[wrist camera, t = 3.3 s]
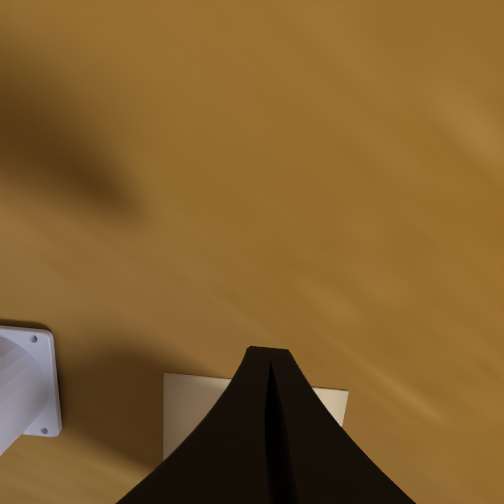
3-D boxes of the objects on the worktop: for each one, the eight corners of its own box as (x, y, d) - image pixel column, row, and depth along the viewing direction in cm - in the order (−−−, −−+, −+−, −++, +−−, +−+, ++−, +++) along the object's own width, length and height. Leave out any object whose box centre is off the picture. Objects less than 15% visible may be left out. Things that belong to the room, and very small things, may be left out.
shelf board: (164, 496, 21) (162, 501, 21) (165, 370, 19) (163, 373, 18) (323, 514, 21) (324, 518, 21) (347, 388, 18) (348, 391, 18)
